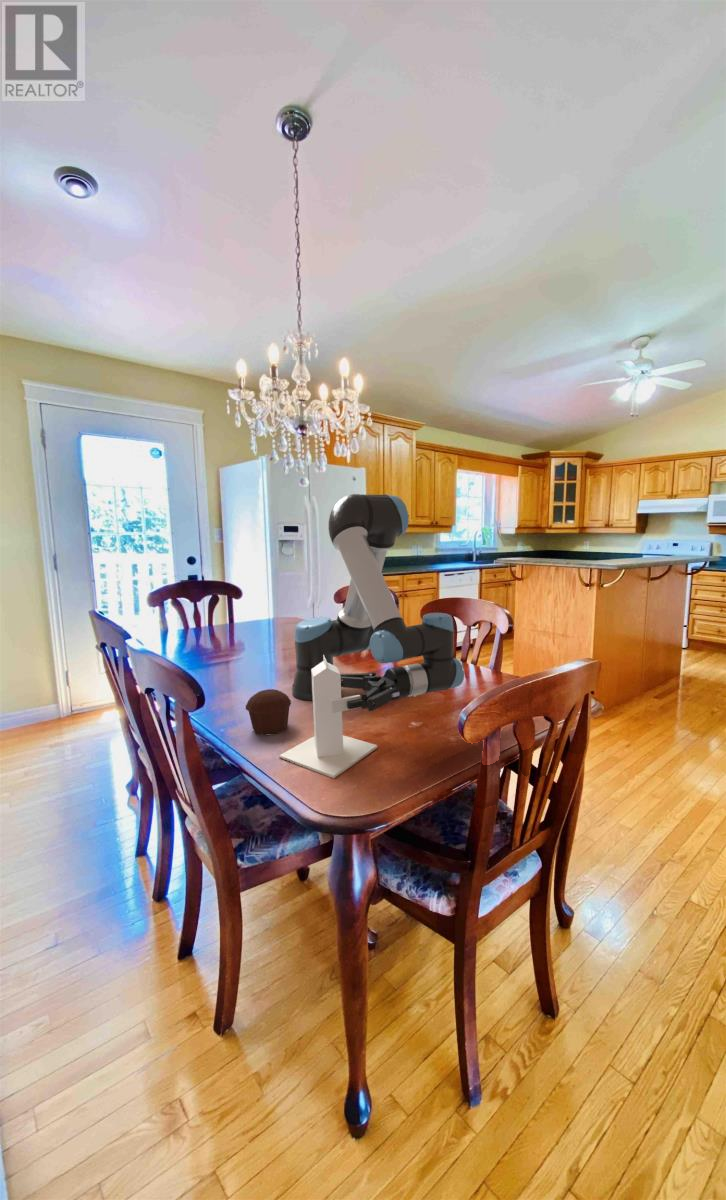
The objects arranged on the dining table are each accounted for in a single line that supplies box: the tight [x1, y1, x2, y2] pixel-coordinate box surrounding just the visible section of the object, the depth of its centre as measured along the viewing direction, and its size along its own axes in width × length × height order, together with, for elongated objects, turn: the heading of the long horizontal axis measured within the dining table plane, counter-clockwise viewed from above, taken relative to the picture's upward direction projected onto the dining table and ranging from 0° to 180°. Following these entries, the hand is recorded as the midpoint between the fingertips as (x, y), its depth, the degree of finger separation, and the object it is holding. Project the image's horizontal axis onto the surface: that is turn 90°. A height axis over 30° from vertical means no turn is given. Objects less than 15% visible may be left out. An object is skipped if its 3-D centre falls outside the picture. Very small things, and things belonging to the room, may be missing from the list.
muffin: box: [245, 688, 292, 736], centre depth 120 cm, size 12×11×10 cm
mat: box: [278, 734, 378, 779], centre depth 106 cm, size 16×16×1 cm
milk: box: [311, 655, 344, 758], centre depth 104 cm, size 6×6×22 cm
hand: (321, 696), depth 103 cm, fingers open, 13 cm apart
